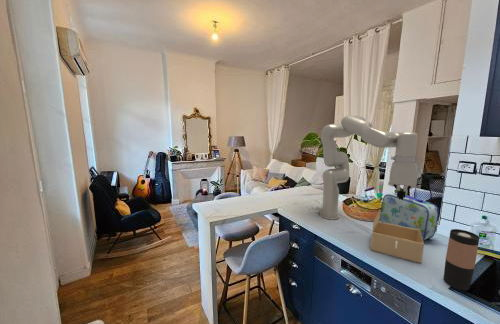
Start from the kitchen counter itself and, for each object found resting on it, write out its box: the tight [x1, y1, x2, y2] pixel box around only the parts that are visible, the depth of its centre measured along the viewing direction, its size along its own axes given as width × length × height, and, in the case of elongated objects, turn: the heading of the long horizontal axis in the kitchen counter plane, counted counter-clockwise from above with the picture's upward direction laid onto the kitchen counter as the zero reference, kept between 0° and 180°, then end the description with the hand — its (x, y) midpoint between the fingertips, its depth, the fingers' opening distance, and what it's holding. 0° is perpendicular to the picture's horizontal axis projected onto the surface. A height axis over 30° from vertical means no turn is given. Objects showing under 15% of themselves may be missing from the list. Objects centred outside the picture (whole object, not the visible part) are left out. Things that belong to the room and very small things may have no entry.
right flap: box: [414, 215, 424, 243], centre depth 98 cm, size 7×13×1 cm
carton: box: [369, 221, 425, 264], centre depth 102 cm, size 19×18×9 cm
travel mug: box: [443, 228, 480, 291], centre depth 79 cm, size 8×8×20 cm
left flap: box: [372, 209, 381, 231], centre depth 106 cm, size 7×13×1 cm
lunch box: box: [380, 192, 440, 241], centre depth 119 cm, size 26×11×21 cm, turn 21°
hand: (400, 198), depth 100 cm, fingers closed
